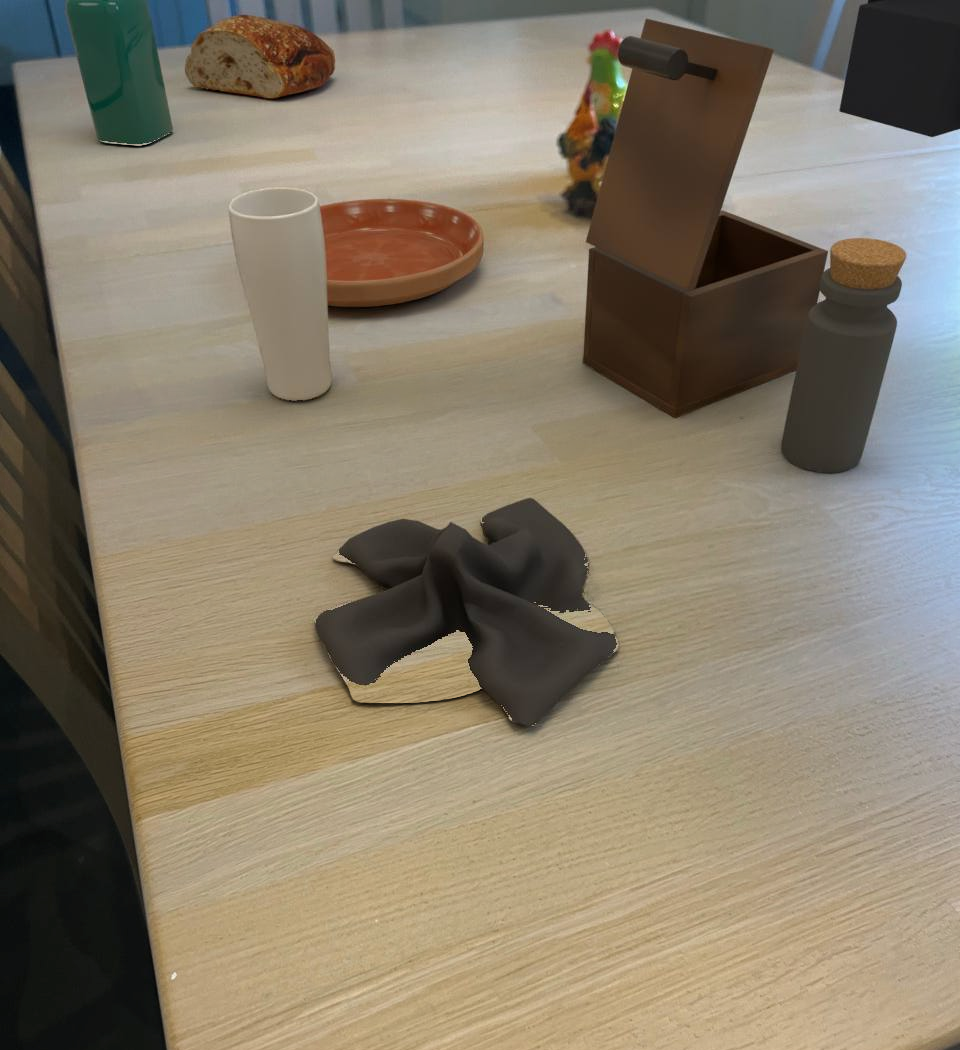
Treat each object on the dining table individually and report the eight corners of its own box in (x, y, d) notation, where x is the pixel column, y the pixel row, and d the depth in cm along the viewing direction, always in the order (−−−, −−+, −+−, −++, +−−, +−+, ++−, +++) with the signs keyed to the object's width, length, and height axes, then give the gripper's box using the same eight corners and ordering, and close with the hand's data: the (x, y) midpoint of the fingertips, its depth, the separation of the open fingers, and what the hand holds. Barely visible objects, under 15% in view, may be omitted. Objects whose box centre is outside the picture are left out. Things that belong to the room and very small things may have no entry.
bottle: (877, 466, 74) (935, 261, 64) (805, 479, 72) (853, 273, 62) (834, 427, 78) (882, 229, 68) (765, 439, 77) (804, 240, 67)
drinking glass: (298, 362, 87) (272, 180, 78) (358, 382, 84) (338, 196, 75) (242, 393, 83) (206, 206, 73) (302, 416, 80) (274, 224, 70)
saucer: (212, 300, 98) (204, 262, 95) (324, 221, 113) (320, 186, 111) (429, 335, 91) (426, 295, 89) (516, 246, 107) (516, 210, 104)
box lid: (653, 20, 72) (596, 3, 69) (774, 49, 65) (717, 31, 62) (592, 242, 80) (538, 237, 77) (694, 290, 73) (639, 286, 69)
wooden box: (707, 319, 93) (722, 209, 86) (803, 367, 85) (828, 250, 79) (582, 363, 87) (588, 248, 80) (674, 418, 79) (690, 296, 73)
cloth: (620, 738, 54) (630, 653, 50) (280, 720, 55) (262, 636, 51) (616, 503, 71) (622, 425, 66) (353, 494, 72) (344, 416, 68)
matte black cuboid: (932, 86, 44) (957, -17, 41) (1027, 109, 41) (1060, 0, 39) (838, 111, 42) (859, 4, 39) (932, 138, 39) (961, 24, 36)
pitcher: (145, 149, 135) (102, -49, 120) (92, 144, 137) (42, -51, 122) (184, 128, 142) (147, -61, 127) (132, 124, 144) (90, -63, 129)
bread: (184, 89, 158) (170, 15, 152) (265, 65, 169) (256, -5, 163) (280, 107, 149) (270, 30, 143) (359, 80, 160) (353, 7, 154)
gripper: (1516, -650, 25) (1191, 135, 38) (942, -530, 36) (834, 52, 48) (1376, -691, 22) (1072, 178, 34) (793, -546, 33) (719, 80, 45)
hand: (935, 99), depth 41 cm, fingers closed on matte black cuboid, 4 cm apart
